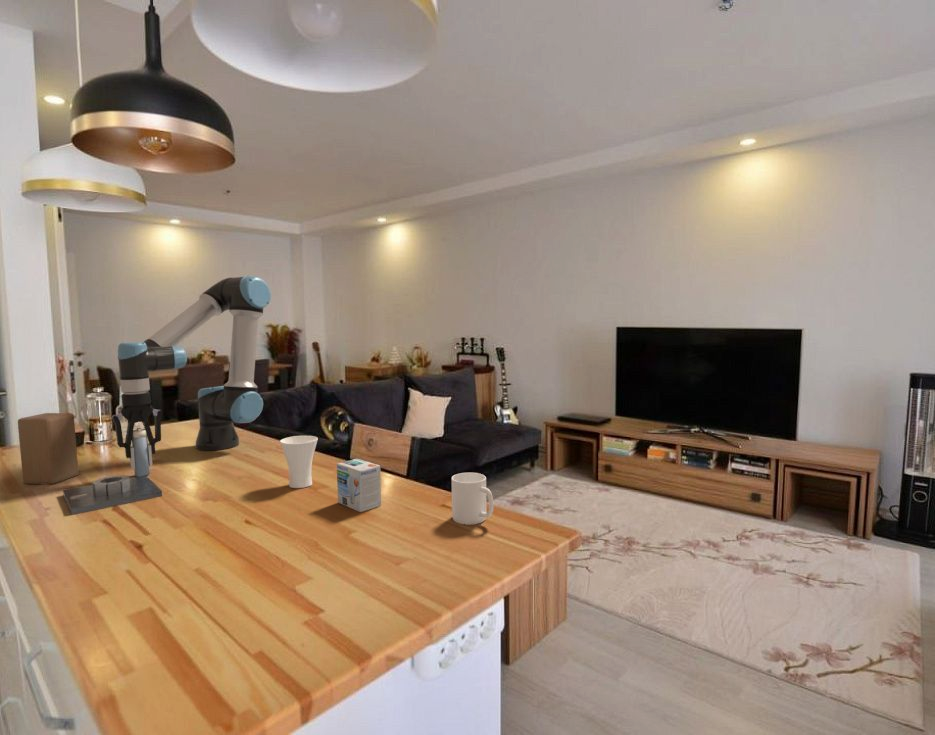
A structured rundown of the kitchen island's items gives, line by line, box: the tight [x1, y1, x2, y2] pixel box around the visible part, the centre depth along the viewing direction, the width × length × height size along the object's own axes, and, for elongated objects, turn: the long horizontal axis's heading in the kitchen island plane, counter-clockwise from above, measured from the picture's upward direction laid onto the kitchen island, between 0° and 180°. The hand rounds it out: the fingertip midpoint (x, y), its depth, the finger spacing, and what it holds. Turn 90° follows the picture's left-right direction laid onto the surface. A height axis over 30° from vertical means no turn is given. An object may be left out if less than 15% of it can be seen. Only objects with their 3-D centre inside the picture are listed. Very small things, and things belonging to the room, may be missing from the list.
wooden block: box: [17, 412, 79, 485], centre depth 159 cm, size 10×10×20 cm
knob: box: [131, 427, 151, 477], centre depth 163 cm, size 4×4×15 cm
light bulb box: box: [336, 458, 382, 513], centre depth 136 cm, size 11×7×11 cm, turn 47°
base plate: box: [62, 474, 163, 516], centre depth 145 cm, size 20×20×4 cm
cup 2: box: [451, 472, 495, 526], centre depth 124 cm, size 8×12×10 cm
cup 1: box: [279, 435, 319, 489], centre depth 152 cm, size 10×10×14 cm
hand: (141, 466), depth 163 cm, fingers closed on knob, 4 cm apart
